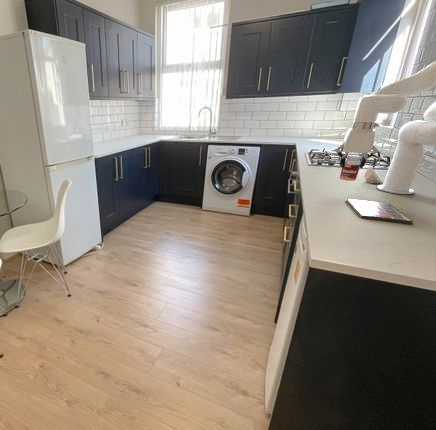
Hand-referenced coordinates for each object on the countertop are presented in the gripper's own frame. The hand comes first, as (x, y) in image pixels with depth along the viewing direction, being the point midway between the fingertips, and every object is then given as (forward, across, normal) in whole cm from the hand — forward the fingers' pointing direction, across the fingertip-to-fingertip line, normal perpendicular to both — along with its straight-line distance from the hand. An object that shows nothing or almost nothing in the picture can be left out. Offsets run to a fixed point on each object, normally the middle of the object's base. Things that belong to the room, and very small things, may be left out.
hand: (350, 166), depth 128 cm
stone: (+13, -18, -26) cm, 34 cm away
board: (+12, -4, +28) cm, 30 cm away
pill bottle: (+6, 0, 0) cm, 6 cm away
